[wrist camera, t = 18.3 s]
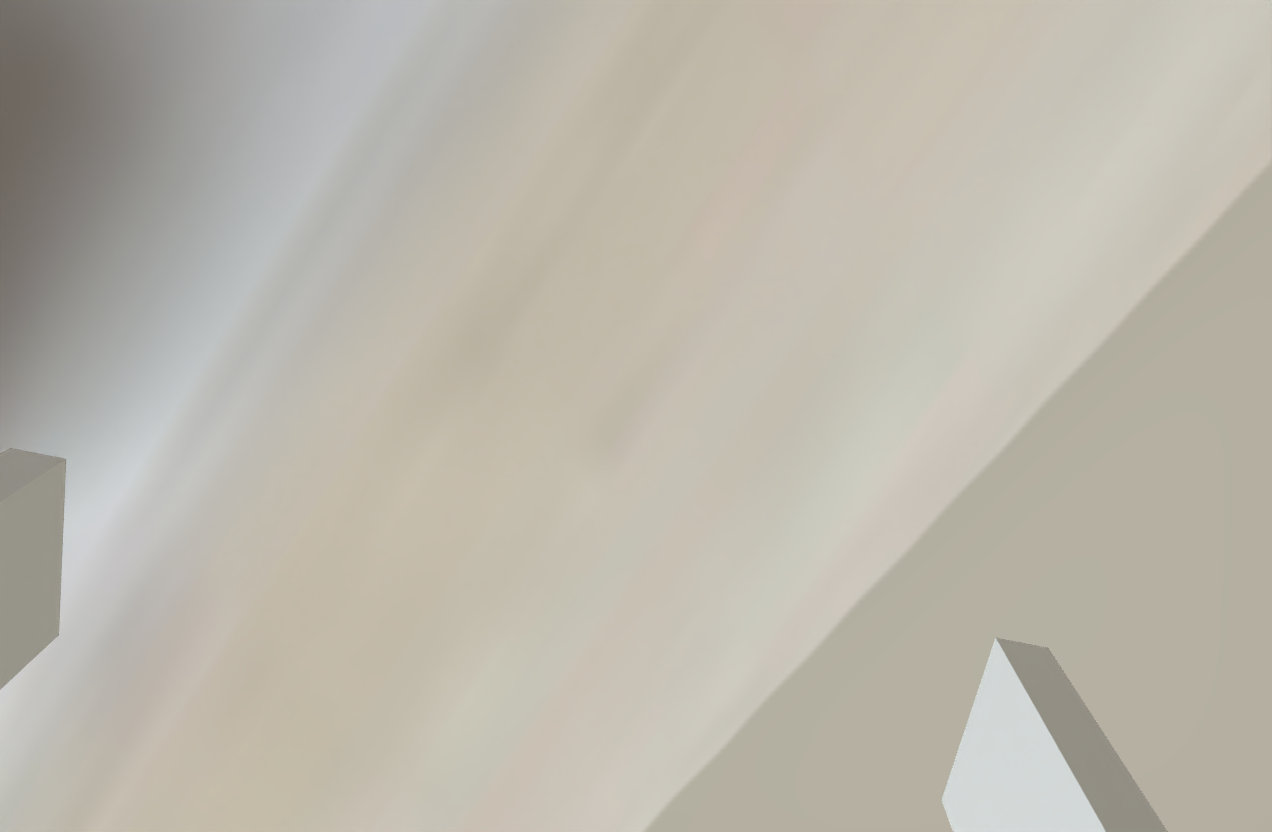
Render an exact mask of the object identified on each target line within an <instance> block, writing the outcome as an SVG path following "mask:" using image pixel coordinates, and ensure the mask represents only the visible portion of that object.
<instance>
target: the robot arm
mask: <svg viewBox="0 0 1272 832" xmlns="http://www.w3.org/2000/svg"><path fill="white" fill-rule="evenodd" d="M65 473H66V459H63V458H58V457H53V456H48V455H43V454H37V453H32V452H27V451H22V450H17V449H11V448H10V449H8V450H7V451H5V452H3V453H1V454H0V689H1V688H2V687H4V686H5V685H6V684H7V683H8V682H9V681H10V680H11V679H12V678H13V677H14V676H15V675H16V674H17V673H19V672H20V671H21V670H22V669H23V668H24V667H25V666H26V665H27V664H28V663H29V662H30V661H31V660H32V659H34V658H35V657H36V656H37V655H38V654H39V653H40V652H41V651H42V650H43V649H44V648H45V647H46V646H47V645H49V644H50V643H51V642H52V641H53V640H54V639H55V638H56V637H57V636H58V635H59V619H60V595H61V570H62V546H63V522H64V498H65ZM942 803H943V805H944V808H945V811H946V813H947V816H948V819H949V822H950V824H951V827H952V830H953V832H1168V831H1167V830H1166V829H1165V827H1164V825H1163V824H1162V822H1161V821H1160V820H1159V818H1158V816H1157V814H1156V813H1155V811H1154V810H1153V808H1152V807H1151V805H1150V804H1149V802H1148V801H1147V799H1146V798H1145V796H1144V795H1143V793H1142V791H1141V790H1140V788H1139V787H1138V785H1137V784H1136V782H1135V781H1134V779H1133V778H1132V776H1131V774H1130V773H1129V771H1128V770H1127V768H1126V767H1125V765H1124V764H1123V762H1122V761H1121V759H1120V757H1119V756H1118V754H1117V753H1116V751H1115V750H1114V748H1113V747H1112V745H1111V744H1110V742H1109V740H1108V739H1107V737H1106V736H1105V735H1104V733H1103V731H1102V730H1101V728H1100V727H1099V725H1098V724H1097V722H1096V720H1095V719H1094V717H1093V716H1092V714H1091V713H1090V711H1089V710H1088V708H1087V707H1086V705H1085V703H1084V702H1083V700H1082V699H1081V697H1080V696H1079V694H1078V693H1077V691H1076V690H1075V688H1074V687H1073V685H1072V683H1071V682H1070V680H1069V679H1068V678H1067V676H1066V674H1065V673H1064V671H1063V670H1062V668H1061V666H1060V665H1059V663H1058V662H1057V660H1056V659H1055V657H1054V656H1053V654H1052V653H1051V651H1050V650H1049V648H1046V647H1040V646H1036V645H1031V644H1025V643H1020V642H1015V641H1010V640H1005V639H999V638H995V641H994V645H993V647H992V650H991V654H990V656H989V659H988V662H987V665H986V668H985V672H984V675H983V677H982V681H981V683H980V687H979V689H978V693H977V696H976V698H975V702H974V705H973V708H972V710H971V713H970V716H969V720H968V722H967V725H966V728H965V732H964V735H963V737H962V740H961V744H960V746H959V749H958V752H957V755H956V758H955V762H954V764H953V767H952V770H951V774H950V776H949V779H948V782H947V786H946V788H945V792H944V795H943V797H942Z"/></svg>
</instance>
